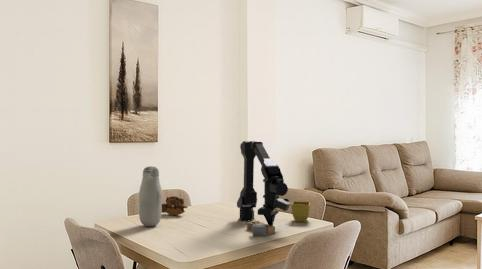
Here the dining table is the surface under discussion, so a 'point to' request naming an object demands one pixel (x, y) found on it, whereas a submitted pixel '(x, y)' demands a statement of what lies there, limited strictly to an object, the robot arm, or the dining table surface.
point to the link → (269, 228)
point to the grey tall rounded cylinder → (150, 197)
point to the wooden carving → (174, 206)
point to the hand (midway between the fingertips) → (270, 227)
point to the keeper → (259, 230)
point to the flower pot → (300, 210)
